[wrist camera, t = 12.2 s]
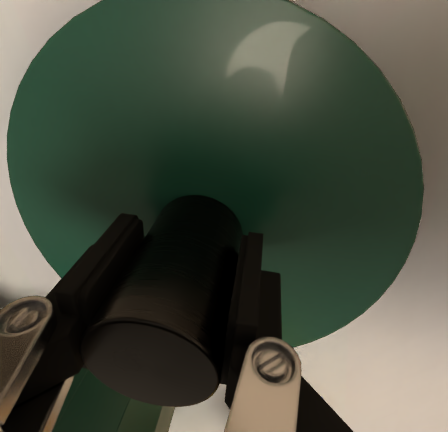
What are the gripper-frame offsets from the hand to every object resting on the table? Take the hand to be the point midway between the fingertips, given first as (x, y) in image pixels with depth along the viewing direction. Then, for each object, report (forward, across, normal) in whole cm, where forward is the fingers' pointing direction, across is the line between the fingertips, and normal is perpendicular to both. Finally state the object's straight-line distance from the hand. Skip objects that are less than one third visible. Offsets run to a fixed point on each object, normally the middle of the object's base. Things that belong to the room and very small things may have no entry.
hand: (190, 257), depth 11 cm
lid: (+2, 0, 0) cm, 2 cm away
